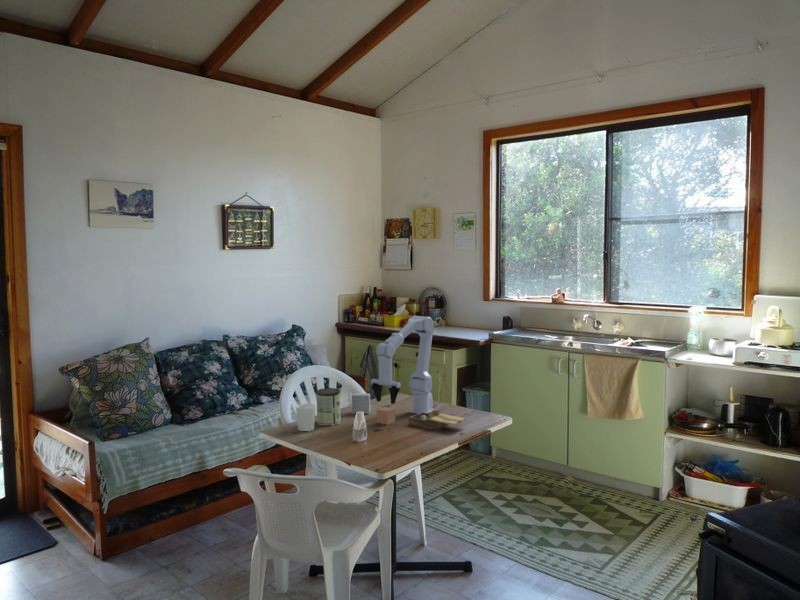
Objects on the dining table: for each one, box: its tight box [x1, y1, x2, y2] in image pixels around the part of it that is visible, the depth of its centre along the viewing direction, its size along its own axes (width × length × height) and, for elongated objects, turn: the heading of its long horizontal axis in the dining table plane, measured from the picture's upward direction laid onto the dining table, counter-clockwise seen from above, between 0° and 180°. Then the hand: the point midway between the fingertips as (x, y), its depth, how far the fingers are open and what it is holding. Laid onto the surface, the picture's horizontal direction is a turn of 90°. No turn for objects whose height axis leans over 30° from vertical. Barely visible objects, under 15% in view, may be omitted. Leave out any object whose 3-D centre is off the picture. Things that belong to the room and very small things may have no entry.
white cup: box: [295, 403, 316, 432], centre depth 257 cm, size 8×8×10 cm
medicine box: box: [351, 392, 372, 415], centre depth 282 cm, size 8×4×9 cm, turn 84°
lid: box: [425, 408, 467, 426], centre depth 257 cm, size 10×14×3 cm
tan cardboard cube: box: [376, 406, 396, 426], centre depth 266 cm, size 6×6×6 cm
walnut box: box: [408, 412, 449, 431], centre depth 263 cm, size 10×14×3 cm
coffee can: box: [315, 387, 342, 426], centre depth 267 cm, size 10×10×14 cm
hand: (385, 402), depth 266 cm, fingers open, 7 cm apart
